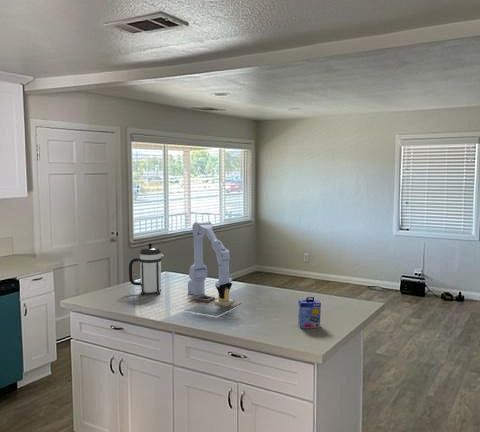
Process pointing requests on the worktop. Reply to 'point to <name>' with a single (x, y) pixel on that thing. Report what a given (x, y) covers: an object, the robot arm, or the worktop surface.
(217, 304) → the pale green square frame
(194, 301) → the switch board
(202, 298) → the grey square frame
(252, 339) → the worktop surface
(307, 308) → the ink cartridge box
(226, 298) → the plug
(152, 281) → the coffee press
